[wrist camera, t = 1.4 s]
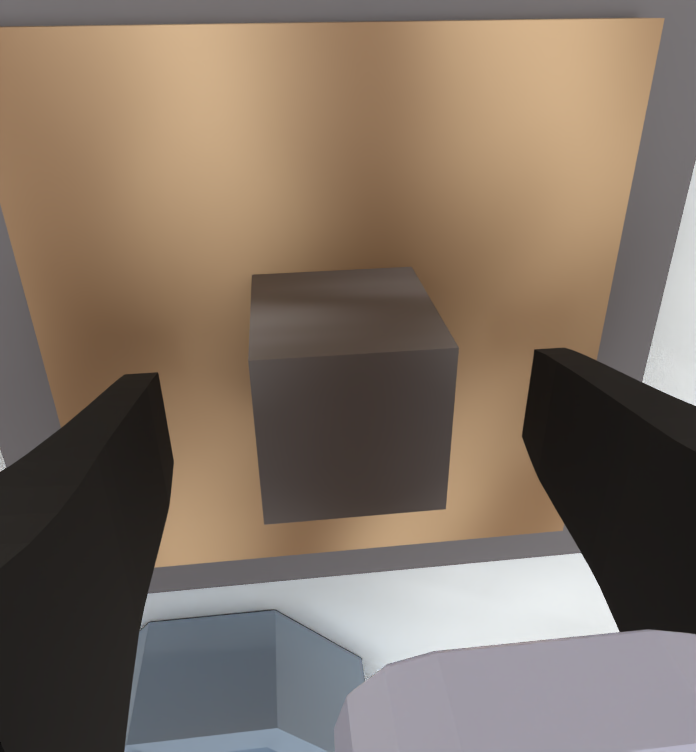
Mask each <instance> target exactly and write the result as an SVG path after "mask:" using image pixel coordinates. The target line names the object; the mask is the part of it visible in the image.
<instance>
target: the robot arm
mask: <svg viewBox="0 0 696 752" xmlns="http://www.w3.org/2000/svg"><path fill="white" fill-rule="evenodd" d="M522 439H523V441H524V444H525V447H526V449H527V452H528V455H529V457H530V460H531V462H532V465H533V467H534V470H535V472H536V475H537V477H538V479H539V481H540V483H541V484H542V486H543V488H544V490H545V491H546V493H547V495H548V497H549V498H550V500H551V502H552V504H553V505H554V507H555V509H556V511H557V512H558V514H559V516H560V517H561V519H562V521H563V523H564V524H565V526H566V528H567V529H568V531H569V533H570V534H571V536H572V538H573V540H574V541H575V543H576V545H577V546H578V548H579V550H580V551H581V553H582V555H583V557H584V558H585V560H586V562H587V563H588V565H589V567H590V569H591V571H592V573H593V575H594V576H595V578H596V580H597V582H598V584H599V586H600V588H601V590H602V593H603V595H604V597H605V599H606V602H607V604H608V606H609V609H610V611H611V613H612V615H613V618H614V620H615V622H616V624H617V627H618V629H619V631H620V632H618V633H608V634H598V635H588V636H579V637H569V638H559V639H549V640H540V641H530V642H520V643H510V644H501V645H491V646H481V647H471V648H462V649H452V650H442V651H433V652H430V653H426V654H422V655H419V656H415V657H412V658H408V659H405V660H401V661H397V662H394V663H390V664H387V665H386V666H385V667H383V668H382V669H381V670H379V671H378V672H377V673H375V674H374V675H373V676H371V677H370V678H369V679H367V680H366V681H365V682H363V683H362V684H361V685H359V686H358V687H357V688H355V689H354V690H353V691H352V692H351V693H350V694H348V695H347V696H346V699H345V701H344V704H343V707H342V709H341V712H340V714H339V717H338V719H337V722H336V725H335V727H334V746H335V752H696V406H694V405H692V404H689V403H687V402H684V401H682V400H680V399H677V398H675V397H673V396H670V395H668V394H666V393H664V392H662V391H659V390H657V389H655V388H653V387H651V386H649V385H647V384H644V383H642V382H640V381H638V380H636V379H634V378H632V377H630V376H628V375H626V374H624V373H622V372H620V371H617V370H615V369H613V368H611V367H609V366H607V365H605V364H603V363H601V362H599V361H597V360H595V359H592V358H590V357H588V356H586V355H583V354H581V353H579V352H576V351H574V350H571V349H568V348H565V347H564V348H548V349H534V355H533V362H532V369H531V376H530V383H529V390H528V396H527V403H526V410H525V417H524V424H523V431H522ZM173 467H174V459H173V453H172V447H171V442H170V436H169V430H168V425H167V419H166V413H165V408H164V402H163V396H162V391H161V385H160V379H159V374H158V372H154V373H138V374H125V375H123V376H122V377H120V378H119V379H118V380H117V381H115V382H114V383H113V384H112V385H111V386H109V387H108V388H107V389H106V390H105V391H104V392H103V393H101V394H100V395H99V396H98V397H97V398H96V399H95V400H93V401H92V402H91V403H90V404H89V405H88V406H86V407H85V408H84V409H83V410H82V411H81V412H79V413H78V414H77V415H76V416H75V417H74V418H72V419H71V420H70V421H69V422H68V423H66V424H65V425H64V426H63V427H62V428H60V429H59V430H58V431H56V432H55V433H54V434H52V435H51V436H50V437H48V438H47V439H46V440H45V441H43V442H42V443H41V444H39V445H38V446H37V447H35V448H34V449H33V450H31V451H30V452H29V453H28V454H26V455H25V456H23V457H22V458H21V459H19V460H18V461H16V462H15V463H13V464H12V465H10V466H9V467H7V468H6V469H4V470H3V471H1V472H0V752H124V750H125V740H126V732H127V723H128V715H129V707H130V698H131V690H132V682H133V674H134V667H135V660H136V652H137V645H138V638H139V631H140V626H141V621H142V616H143V611H144V606H145V602H146V598H147V594H148V590H149V586H150V582H151V578H152V575H153V571H154V567H155V563H156V559H157V555H158V551H159V547H160V543H161V539H162V535H163V531H164V527H165V523H166V519H167V515H168V510H169V506H170V497H171V488H172V478H173Z"/></svg>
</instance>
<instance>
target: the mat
mask: <svg viewBox="0 0 696 752" xmlns="http://www.w3.org/2000/svg"><path fill="white" fill-rule="evenodd" d="M580 18H665V19H664V24H663V29H662V34H661V39H660V44H659V49H658V54H657V59H656V65H655V70H654V75H653V80H652V85H651V90H650V95H649V100H648V105H647V110H646V115H645V120H644V125H643V130H642V135H641V140H640V145H639V150H638V155H637V160H636V165H635V170H634V175H633V180H632V185H631V190H630V195H629V200H628V205H627V210H626V215H625V220H624V225H623V230H622V235H621V240H620V245H619V250H618V255H617V261H616V266H615V271H614V276H613V281H612V286H611V291H610V296H609V301H608V306H607V311H606V316H605V321H604V326H603V331H602V336H601V341H600V346H599V351H598V356H597V361H599V362H601V363H603V364H605V365H607V366H609V367H611V368H613V369H615V370H617V371H620V372H622V373H624V374H626V375H628V376H630V377H632V378H634V379H636V380H638V381H640V382H642V379H643V375H644V371H645V367H646V363H647V358H648V354H649V350H650V346H651V342H652V338H653V334H654V330H655V325H656V321H657V317H658V313H659V309H660V305H661V301H662V296H663V292H664V288H665V284H666V280H667V276H668V272H669V268H670V263H671V259H672V255H673V251H674V247H675V243H676V239H677V234H678V230H679V226H680V222H681V218H682V214H683V210H684V205H685V201H686V197H687V193H688V189H689V185H690V181H691V177H692V172H693V168H694V164H695V160H696V0H0V27H6V26H78V25H150V24H221V23H293V22H365V21H437V20H509V19H580ZM60 428H61V426H60V422H59V418H58V415H57V411H56V407H55V404H54V400H53V396H52V392H51V389H50V385H49V381H48V378H47V374H46V370H45V367H44V363H43V359H42V356H41V352H40V348H39V345H38V341H37V337H36V334H35V330H34V326H33V322H32V319H31V315H30V311H29V308H28V304H27V300H26V297H25V293H24V289H23V286H22V282H21V278H20V275H19V271H18V267H17V264H16V260H15V256H14V252H13V249H12V245H11V241H10V238H9V234H8V230H7V227H6V223H5V219H4V216H3V212H2V208H1V205H0V449H1V452H2V455H3V458H4V461H5V464H6V467H9V466H10V465H12V464H13V463H15V462H16V461H18V460H19V459H21V458H22V457H23V456H25V455H26V454H28V453H29V452H30V451H31V450H33V449H34V448H35V447H37V446H38V445H39V444H41V443H42V442H43V441H45V440H46V439H47V438H48V437H50V436H51V435H52V434H54V433H55V432H56V431H58V430H59V429H60ZM574 553H581V551H580V550H579V548H578V546H577V545H576V543H575V541H574V540H573V538H572V536H571V534H570V533H569V531H568V529H567V528H566V526H565V524H564V527H563V531H554V532H543V533H532V534H521V535H510V536H499V537H488V538H477V539H466V540H455V541H444V542H433V543H421V544H410V545H399V546H388V547H377V548H366V549H355V550H344V551H333V552H322V553H311V554H300V555H288V556H277V557H266V558H255V559H244V560H233V561H222V562H211V563H200V564H189V565H178V566H167V567H155V568H154V571H153V575H152V578H151V582H150V586H149V590H148V593H158V592H169V591H179V590H190V589H201V588H211V587H222V586H233V585H243V584H254V583H265V582H275V581H286V580H297V579H307V578H318V577H329V576H339V575H350V574H361V573H371V572H382V571H393V570H403V569H414V568H425V567H435V566H446V565H457V564H467V563H478V562H489V561H499V560H510V559H521V558H531V557H542V556H553V555H563V554H574Z"/></svg>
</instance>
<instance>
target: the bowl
mask: <svg viewBox="0 0 696 752" xmlns="http://www.w3.org/2000/svg"><path fill="white" fill-rule="evenodd" d="M363 682H365V678H364V672H363V665H362V659H361V658H360V657H358V656H356V655H354V654H352V653H351V652H349V651H347V650H345V649H343V648H342V647H340V646H338V645H336V644H335V643H333V642H331V641H329V640H327V639H326V638H324V637H322V636H320V635H318V634H317V633H315V632H313V631H311V630H310V629H308V628H306V627H304V626H302V625H301V624H299V623H297V622H295V621H293V620H292V619H290V618H288V617H286V616H284V615H283V614H281V613H279V612H277V611H276V610H272V611H262V612H251V613H241V614H231V615H221V616H210V617H200V618H190V619H180V620H170V621H159V622H149V623H148V624H147V625H146V626H145V627H144V628H143V629H142V630H141V631H140V632H139V638H138V645H137V652H136V660H135V667H134V674H133V682H132V690H131V698H130V707H129V715H128V723H127V732H126V740H125V750H124V752H335V746H334V727H335V725H336V722H337V719H338V717H339V714H340V712H341V709H342V707H343V704H344V701H345V699H346V696H347V695H348V694H350V693H351V692H352V691H353V690H354V689H355V688H357V687H358V686H359V685H361V684H362V683H363Z"/></svg>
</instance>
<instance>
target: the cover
mask: <svg viewBox="0 0 696 752" xmlns="http://www.w3.org/2000/svg"><path fill="white" fill-rule="evenodd" d="M664 19H665V18H580V19H509V20H437V21H365V22H293V23H221V24H150V25H78V26H6V27H0V205H1V208H2V212H3V216H4V219H5V223H6V227H7V230H8V234H9V238H10V241H11V245H12V249H13V252H14V256H15V260H16V264H17V267H18V271H19V275H20V278H21V282H22V286H23V289H24V293H25V297H26V300H27V304H28V308H29V311H30V315H31V319H32V322H33V326H34V330H35V334H36V337H37V341H38V345H39V348H40V352H41V356H42V359H43V363H44V367H45V370H46V374H47V378H48V381H49V385H50V389H51V392H52V396H53V400H54V404H55V407H56V411H57V415H58V418H59V422H60V426H61V428H62V427H63V426H64V425H65V424H66V423H68V422H69V421H70V420H71V419H72V418H74V417H75V416H76V415H77V414H78V413H79V412H81V411H82V410H83V409H84V408H85V407H86V406H88V405H89V404H90V403H91V402H92V401H93V400H95V399H96V398H97V397H98V396H99V395H100V394H101V393H103V392H104V391H105V390H106V389H107V388H108V387H109V386H111V385H112V384H113V383H114V382H115V381H117V380H118V379H119V378H120V377H122V376H123V375H125V374H138V373H154V372H158V374H159V379H160V385H161V391H162V396H163V402H164V408H165V413H166V419H167V425H168V430H169V436H170V442H171V447H172V453H173V459H174V467H173V478H172V488H171V497H170V506H169V510H168V515H167V519H166V523H165V527H164V531H163V535H162V539H161V543H160V547H159V551H158V555H157V559H156V563H155V567H167V566H178V565H189V564H200V563H211V562H222V561H233V560H244V559H255V558H266V557H277V556H288V555H300V554H311V553H322V552H333V551H344V550H355V549H366V548H377V547H388V546H399V545H410V544H421V543H433V542H444V541H455V540H466V539H477V538H488V537H499V536H510V535H521V534H532V533H543V532H554V531H563V527H564V523H563V521H562V519H561V517H560V516H559V514H558V512H557V511H556V509H555V507H554V505H553V504H552V502H551V500H550V498H549V497H548V495H547V493H546V491H545V490H544V488H543V486H542V484H541V483H540V481H539V479H538V477H537V475H536V472H535V470H534V467H533V465H532V462H531V460H530V457H529V455H528V452H527V449H526V447H525V444H524V441H523V439H522V431H523V424H524V417H525V410H526V403H527V396H528V390H529V383H530V376H531V369H532V362H533V355H534V349H548V348H564V347H565V348H568V349H571V350H574V351H576V352H579V353H581V354H583V355H586V356H588V357H590V358H592V359H595V360H597V356H598V351H599V346H600V341H601V336H602V331H603V326H604V321H605V316H606V311H607V306H608V301H609V296H610V291H611V286H612V281H613V276H614V271H615V266H616V261H617V255H618V250H619V245H620V240H621V235H622V230H623V225H624V220H625V215H626V210H627V205H628V200H629V195H630V190H631V185H632V180H633V175H634V170H635V165H636V160H637V155H638V150H639V145H640V140H641V135H642V130H643V125H644V120H645V115H646V110H647V105H648V100H649V95H650V90H651V85H652V80H653V75H654V70H655V65H656V59H657V54H658V49H659V44H660V39H661V34H662V29H663V24H664ZM155 567H154V568H155Z"/></svg>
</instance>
